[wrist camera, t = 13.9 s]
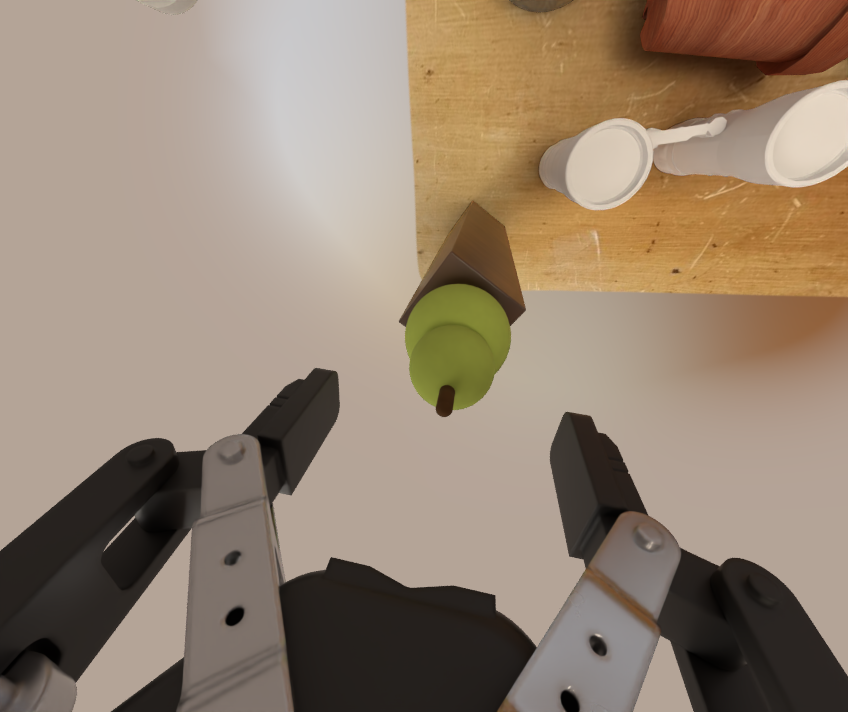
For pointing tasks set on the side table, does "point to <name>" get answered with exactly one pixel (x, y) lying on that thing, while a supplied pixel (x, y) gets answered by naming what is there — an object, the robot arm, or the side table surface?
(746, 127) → the binoculars
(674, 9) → the potted plant
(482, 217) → the pedestal
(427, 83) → the side table surface
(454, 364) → the pear
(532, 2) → the teal bowl
